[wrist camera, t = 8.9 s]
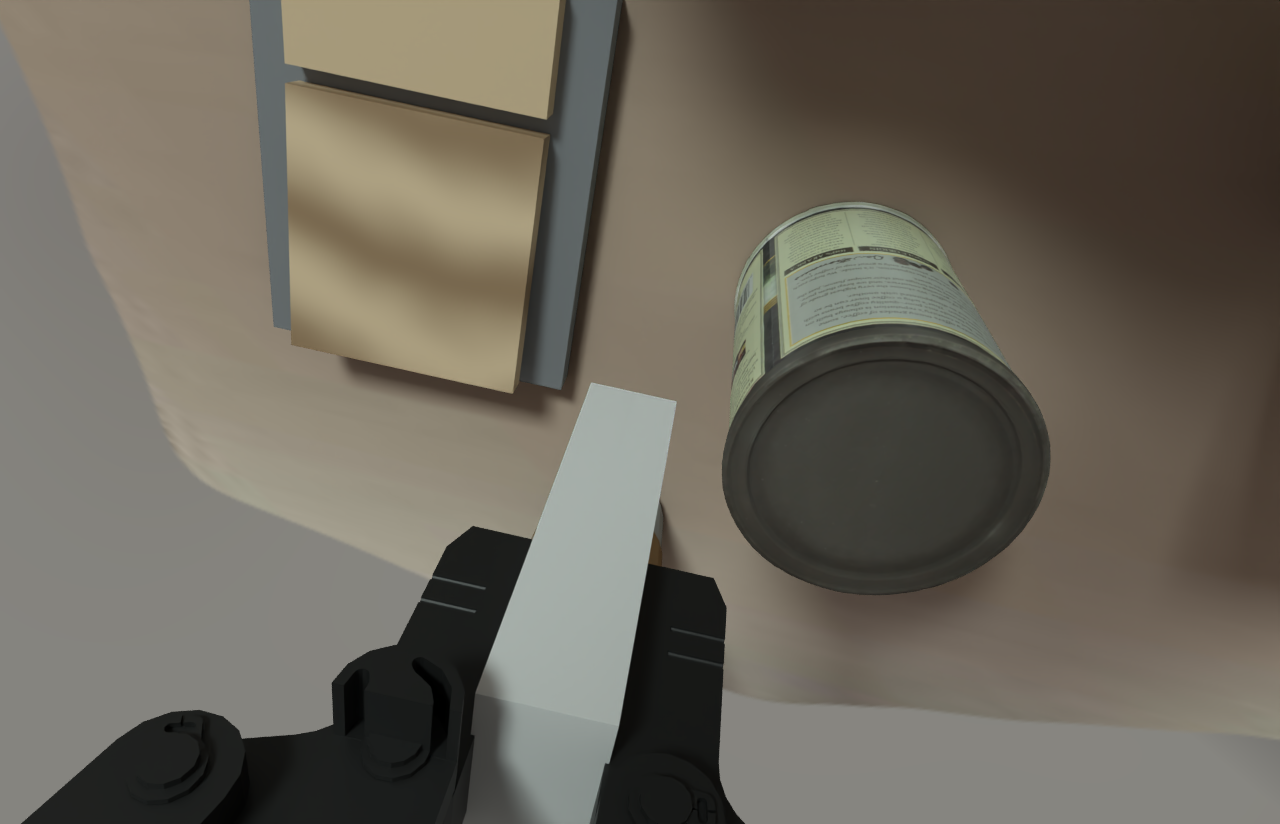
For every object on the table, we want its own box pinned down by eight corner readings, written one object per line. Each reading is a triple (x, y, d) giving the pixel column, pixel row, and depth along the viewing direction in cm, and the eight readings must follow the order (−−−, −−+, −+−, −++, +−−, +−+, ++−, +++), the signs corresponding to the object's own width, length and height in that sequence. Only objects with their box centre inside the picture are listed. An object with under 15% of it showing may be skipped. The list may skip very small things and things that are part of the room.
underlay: (263, -82, 33) (225, -83, 30) (623, -6, 32) (613, -1, 30) (288, 314, 42) (261, 336, 40) (567, 375, 42) (555, 401, 40)
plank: (299, 80, 34) (285, 83, 33) (550, 134, 34) (543, 138, 33) (303, 335, 40) (291, 344, 39) (518, 383, 40) (512, 393, 39)
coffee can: (969, 377, 39) (1060, 576, 27) (760, 417, 42) (760, 614, 30) (943, 170, 34) (1041, 301, 22) (710, 230, 37) (685, 375, 25)
